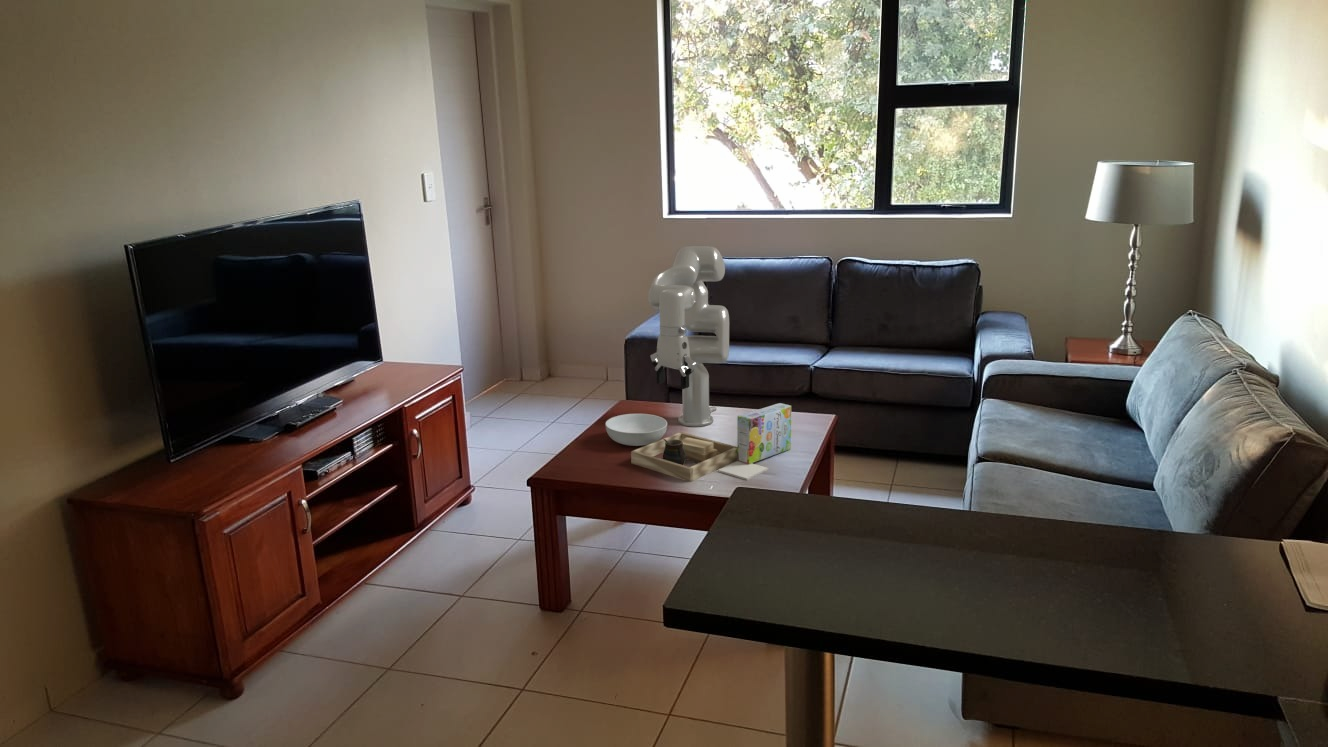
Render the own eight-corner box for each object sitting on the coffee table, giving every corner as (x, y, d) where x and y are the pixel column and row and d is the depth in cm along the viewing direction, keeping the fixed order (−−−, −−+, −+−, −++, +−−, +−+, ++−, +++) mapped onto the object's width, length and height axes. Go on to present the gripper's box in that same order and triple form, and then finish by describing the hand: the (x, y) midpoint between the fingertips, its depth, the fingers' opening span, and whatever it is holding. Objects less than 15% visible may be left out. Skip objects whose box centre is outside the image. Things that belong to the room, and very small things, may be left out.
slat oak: (689, 447, 296) (689, 441, 296) (717, 455, 288) (717, 449, 288) (676, 452, 292) (676, 446, 291) (704, 461, 284) (704, 455, 283)
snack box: (777, 445, 299) (779, 402, 296) (791, 449, 296) (793, 405, 292) (735, 460, 285) (736, 414, 281) (749, 465, 281) (750, 418, 278)
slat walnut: (686, 451, 298) (686, 445, 297) (719, 461, 289) (719, 455, 288) (672, 457, 293) (672, 451, 292) (705, 467, 284) (705, 461, 283)
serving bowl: (641, 456, 292) (641, 436, 290) (593, 444, 304) (592, 425, 302) (679, 439, 308) (679, 419, 306) (632, 428, 320) (631, 409, 318)
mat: (739, 461, 286) (739, 459, 286) (768, 469, 279) (768, 467, 279) (718, 471, 278) (718, 469, 278) (746, 480, 271) (746, 478, 271)
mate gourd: (690, 465, 283) (690, 435, 281) (674, 472, 278) (674, 441, 275) (673, 460, 288) (673, 430, 285) (657, 467, 283) (657, 436, 280)
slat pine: (687, 442, 295) (687, 437, 294) (713, 447, 289) (713, 442, 289) (677, 448, 290) (677, 442, 289) (703, 453, 284) (703, 448, 284)
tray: (681, 443, 304) (681, 431, 303) (739, 459, 288) (739, 447, 287) (631, 463, 286) (631, 451, 285) (690, 481, 270) (690, 469, 269)
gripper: (702, 332, 269) (702, 387, 273) (659, 325, 280) (660, 378, 284) (686, 336, 263) (686, 393, 268) (642, 329, 275) (643, 383, 279)
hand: (672, 385), depth 276 cm, fingers open, 9 cm apart
